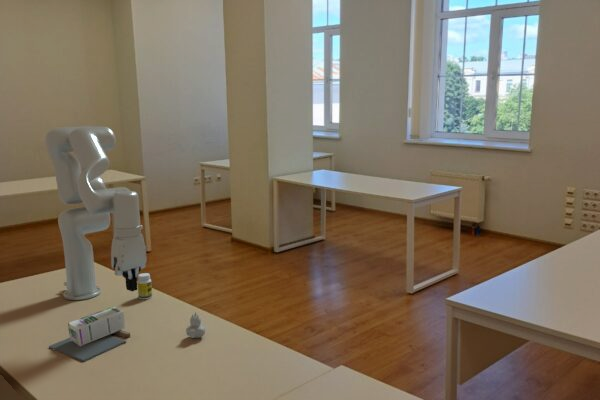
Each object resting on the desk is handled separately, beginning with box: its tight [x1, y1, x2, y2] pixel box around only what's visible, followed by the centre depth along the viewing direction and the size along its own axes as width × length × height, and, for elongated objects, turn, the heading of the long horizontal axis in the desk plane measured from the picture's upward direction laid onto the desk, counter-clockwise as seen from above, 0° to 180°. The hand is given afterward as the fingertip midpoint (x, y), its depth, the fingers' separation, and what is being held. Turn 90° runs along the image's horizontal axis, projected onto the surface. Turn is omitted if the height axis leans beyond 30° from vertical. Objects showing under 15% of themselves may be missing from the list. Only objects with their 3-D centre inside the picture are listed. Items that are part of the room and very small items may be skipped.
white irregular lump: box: [185, 311, 206, 339], centre depth 161 cm, size 5×7×8 cm
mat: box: [48, 334, 127, 363], centre depth 158 cm, size 16×14×1 cm
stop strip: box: [113, 329, 131, 339], centre depth 166 cm, size 12×1×1 cm, turn 56°
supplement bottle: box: [137, 272, 153, 300], centre depth 195 cm, size 5×5×8 cm
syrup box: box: [67, 306, 126, 346], centre depth 162 cm, size 6×6×14 cm
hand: (131, 289), depth 170 cm, fingers closed
